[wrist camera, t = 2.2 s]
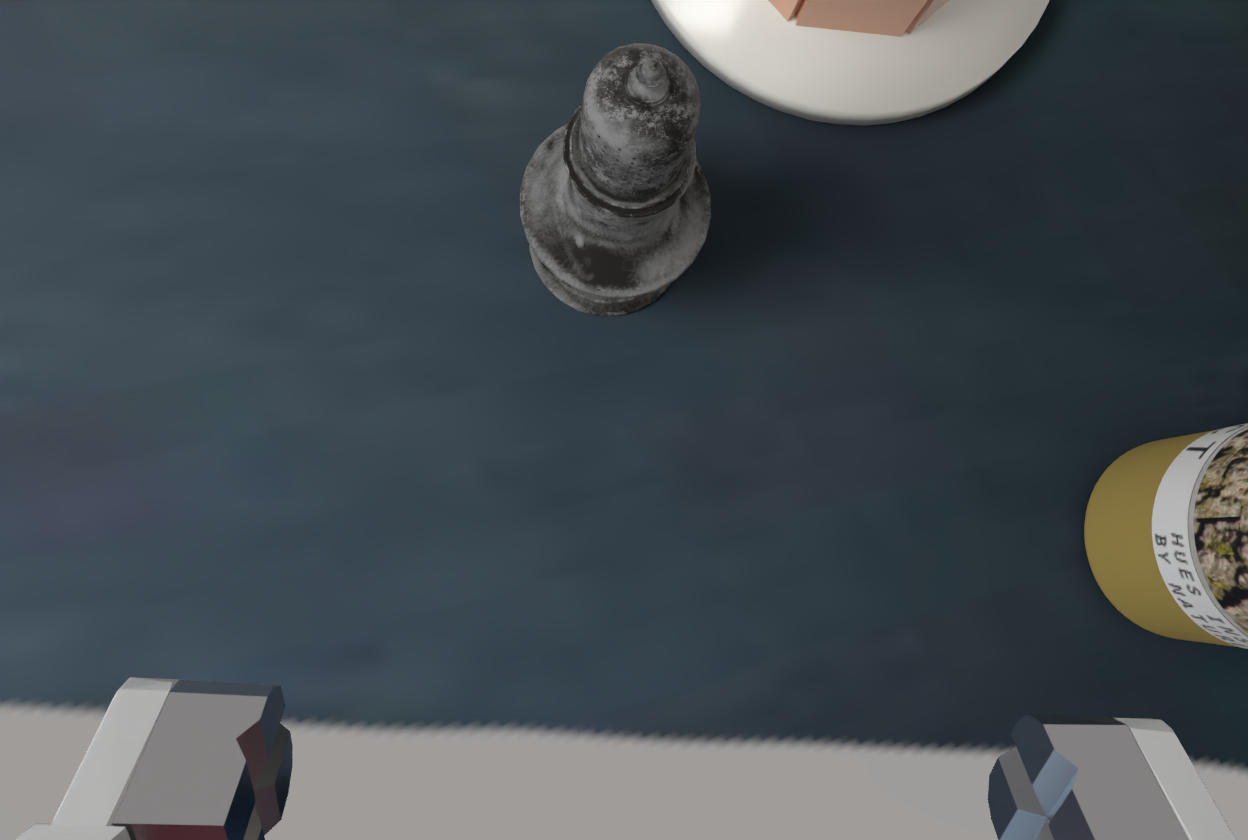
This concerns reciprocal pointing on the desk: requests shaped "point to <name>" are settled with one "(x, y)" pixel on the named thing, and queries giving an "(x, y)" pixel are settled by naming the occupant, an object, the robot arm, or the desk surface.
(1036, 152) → the desk surface
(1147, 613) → the wooden cylinder
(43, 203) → the desk surface
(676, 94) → the grey chess piece
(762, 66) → the saucer
